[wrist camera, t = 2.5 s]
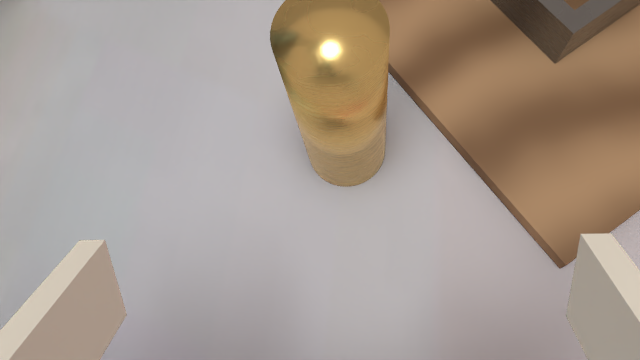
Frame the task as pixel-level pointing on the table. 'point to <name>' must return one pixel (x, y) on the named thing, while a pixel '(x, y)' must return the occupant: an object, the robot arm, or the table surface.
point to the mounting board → (529, 113)
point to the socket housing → (563, 21)
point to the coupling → (336, 82)
